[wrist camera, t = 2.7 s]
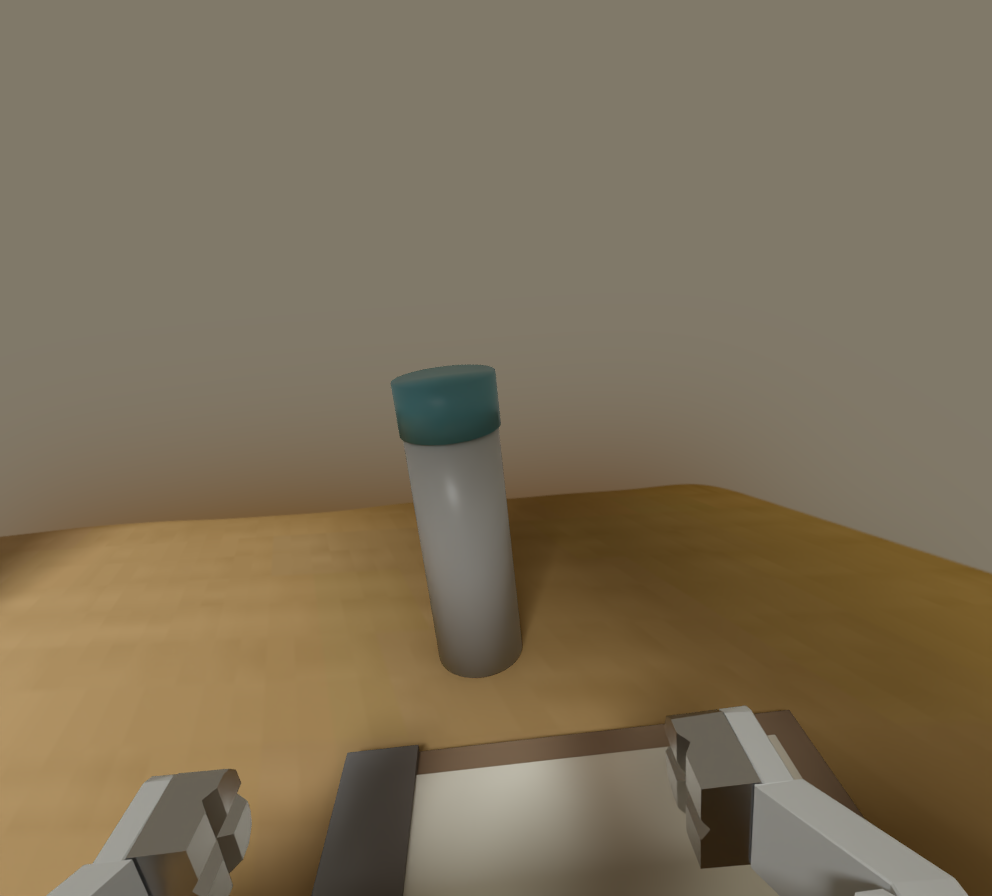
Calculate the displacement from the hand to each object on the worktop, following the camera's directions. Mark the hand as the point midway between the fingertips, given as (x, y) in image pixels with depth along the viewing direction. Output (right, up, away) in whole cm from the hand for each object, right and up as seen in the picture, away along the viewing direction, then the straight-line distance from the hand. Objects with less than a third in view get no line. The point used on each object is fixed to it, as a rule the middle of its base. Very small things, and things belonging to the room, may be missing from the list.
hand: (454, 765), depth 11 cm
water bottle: (0, -3, +14) cm, 14 cm away
